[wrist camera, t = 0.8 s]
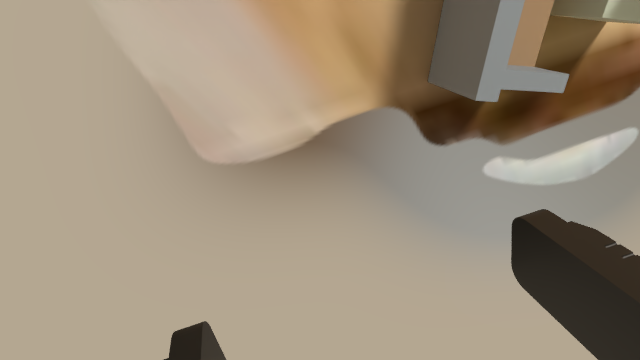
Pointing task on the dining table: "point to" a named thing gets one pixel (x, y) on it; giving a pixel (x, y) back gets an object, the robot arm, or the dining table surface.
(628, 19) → the green and brown blocks
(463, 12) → the board
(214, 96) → the dining table surface
